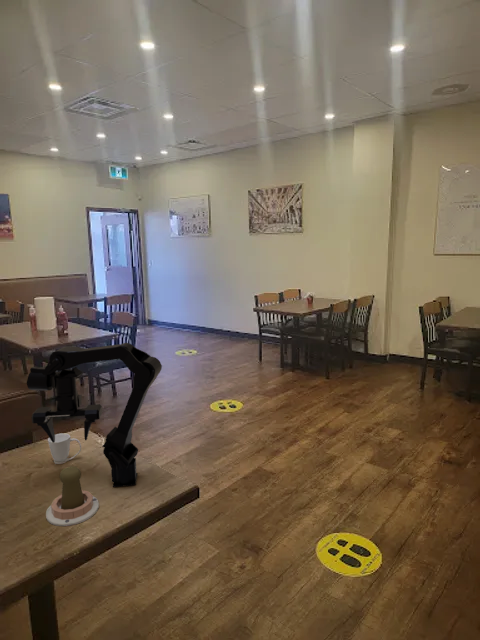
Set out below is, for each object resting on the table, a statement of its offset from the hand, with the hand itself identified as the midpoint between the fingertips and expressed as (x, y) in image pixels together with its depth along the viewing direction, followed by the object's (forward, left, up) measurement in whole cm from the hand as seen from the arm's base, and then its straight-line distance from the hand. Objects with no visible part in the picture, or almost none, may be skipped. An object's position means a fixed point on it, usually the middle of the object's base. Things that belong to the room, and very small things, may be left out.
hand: (70, 440), depth 129 cm
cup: (+5, -12, -12) cm, 18 cm away
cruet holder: (-4, +17, -12) cm, 21 cm away
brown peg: (-4, +17, -11) cm, 21 cm away
